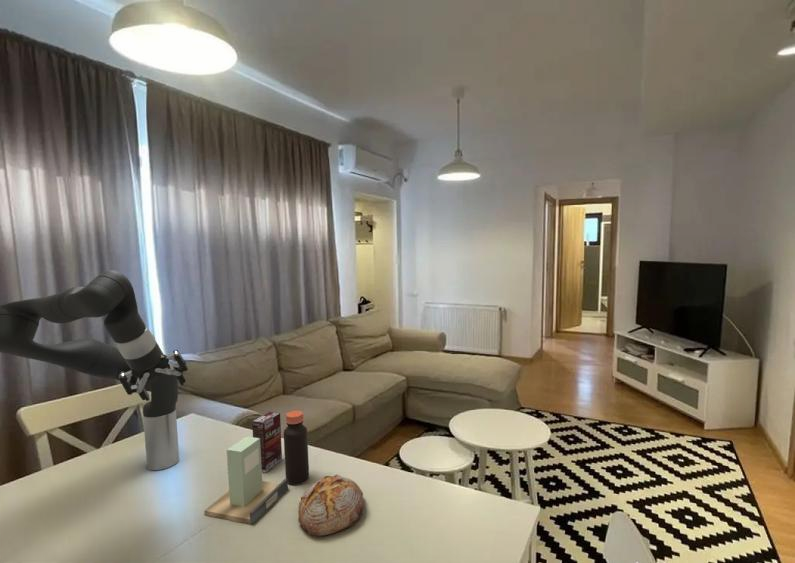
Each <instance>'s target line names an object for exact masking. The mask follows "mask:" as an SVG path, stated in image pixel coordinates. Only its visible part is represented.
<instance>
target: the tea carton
mask: <svg viewBox="0 0 795 563" xmlns="http://www.w3.org/2000/svg"><path fill="white" fill-rule="evenodd" d="M226 460H227V475H228V478H227V479H228V491H229V496H230V504H231V505H237V506H242V507H245V506H246V505H247V504H248V503H249V502H250V501H251V500H252V499H253V498H255V497H256V496H257V495H258V494H259V493H260V492H261V491H262V490H263V486H262V481H263V472H262V467H261V448H260V438H254V437H253V436H245V437H244V438H242V439H240V440H239V441H237V442H236V443H235V444H233V445H232V446H230V447H229V448H227V449H226Z"/></svg>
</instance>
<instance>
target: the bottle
mask: <svg viewBox="0 0 795 563" xmlns="http://www.w3.org/2000/svg"><path fill="white" fill-rule="evenodd" d="M285 422H286V425H287V426H286V428H284V430H283V448H284V449H283V450H284V467H285V468H284V470H285V479H288V485H293V486H297V485H301V484H304V483H306V482H307V481H308V480H309V478H310V468H309V467H310V464H309V461H310V460H309V447H308V446H309V444H308V443H309V442H308V439H309V437H308V428H307V427H306V425H304V424H303V423H304V412H303V411H301V410H294V411H289V412H287V413H286V415H285Z"/></svg>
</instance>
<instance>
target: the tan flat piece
mask: <svg viewBox="0 0 795 563" xmlns="http://www.w3.org/2000/svg"><path fill="white" fill-rule="evenodd" d="M262 486H263V490H262V491H261V492H260V493H259V494H258V495H257V496H256V497H255V498H253V499H252V500H251V501H250V502H249V503H248V504H247V505H246V506H245V507H242V506H237V505H231V504H230V496H229V490H227V491H226V492H225V493H224V494H223V495H221V497H219V498H218V499H217V500H216V501H214V502H213V503H212V504H210V505H209V506H207V507H206V508H205V509H204V515H205V516H208V517H209V516H210V517H214V518H219V519H223V520H227V521H233V522H238V523H244V524H247V525H248V524H249V525H254V524H255V523H256V522H257V521H258V520H260V518H262V516H263V515H264V514H265V513H267V511H269V509H271V507H273V505H274V504H275V503H276V502H277V501H278V500H279V499H280V498H281V497H282V496H283V495H284V494H285V493H286V492H288V490H289V483H288V479H286V478H284V479H283V480H282V481H281V482H280V483H279V482H272V481H264V480H262Z"/></svg>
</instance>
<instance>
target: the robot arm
mask: <svg viewBox="0 0 795 563" xmlns="http://www.w3.org/2000/svg"><path fill="white" fill-rule="evenodd" d="M104 316H106V317H105V318H104V322H103V324H104V327H105V329H106V331H107V333H108V334H109V336H110V337H111V339H112V340H113V341H114V343H115V344H114V345H115V346H116V347H115V346H114V345H111V344H109V343H106V342H103V341H100V340H98V339H95V338H92V337H91V338H90V337H89V338H87V337H84V338H77V339H74V340H69V341H65V342H61V343H53V344H44V343H39V342H36V341H34V339H35V336H36V333H37V332H38V328H39V325H40V321H41V319H42V318H43V319H44V320H46V321H48V322H50V323H54V324H67V323H71V322H74V321H77V320H80V319H83V318H101V317H104ZM0 353H2V354H7V355H10V356H15V357H19V358H20V357H22V358H25V359H30V360H35V361H41V362H44V363H47V364H52V365H56V366H59V367H61V368H65V369H68V370H72V371H74V372H78V373H82V374H85V375H89V376H93V377H97V378H102V379H109V380H115V381H119V382H120V384H121V385H122V386H123V389H124V391H125V392H126V394H127V395H128V396H129V395H130V396H131V395H132V394H135V393H136V394H138V396H139V397H140V398H141V400H143V401H146V402H147V403H146V404H144V405H143V407H142V418H143V430H144V433H143V434H144V442H145V444H144V445H145V457H146V458H145V459H146V469H147V470H150V471H160V470H162V471H163V470H164V469H165V470H166V469H168V468H171V467H173V466H175V465H176V464H178V463H179V461H180V450H179V437H178V434H179V433H178V423H177V422H178V418H177V408H176V407H177V406H176V405H177V402H178V400H179V395H178V394H179V389H178V387H179V384H180V385H181V387H182V386H185V384H186V383H187V382H186V381H187V380H186V377H185V375H184V373H183V372H187V371H188V370H189V369H188V366H187V362H186V360H185V358H184V357H183V356H182V354H181V353H180V351H179V349H178V350H177V349H174V350H173V351H172V353H171V354H168V355H166V354H164V352H163V351H162V349H161V347H160V345H159V343H158V342H157V341H156V337H155V336H154V334H153V333H152V332H151V330H150V329H149V328H148V326H146V324H145V322H144V320H143V319H142V317H141V315H140V313H139V309H138V302H137V299H136V294H135V290H134V287H133V284H132V282H131V281H130V280H129V278H128V277H127V276H125V275H124V274H123V273H122V272H120V271H117V270H114V269H108V270H104V271H102V272H101V273H99V274H98V275H97V276H96V277H94V278H93V279H92V280H91V281H90V282H89V283H87V284H86V285H85V286H74V287H73V286H72V287H71V288H68V289H65V290H63V291H60V292H57V293H54V294H52V295H48V296H43V297H42V296H41V297H38V298H37V297H36V298H29V299H22V300H16V301H10V302H6V303H3V304H0ZM170 361H172V362H174V363H177V364H178V366H177V365H174V364H173V363H171V362H170ZM148 392H150V395H149V393H148ZM148 401H149V402H148Z"/></svg>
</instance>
